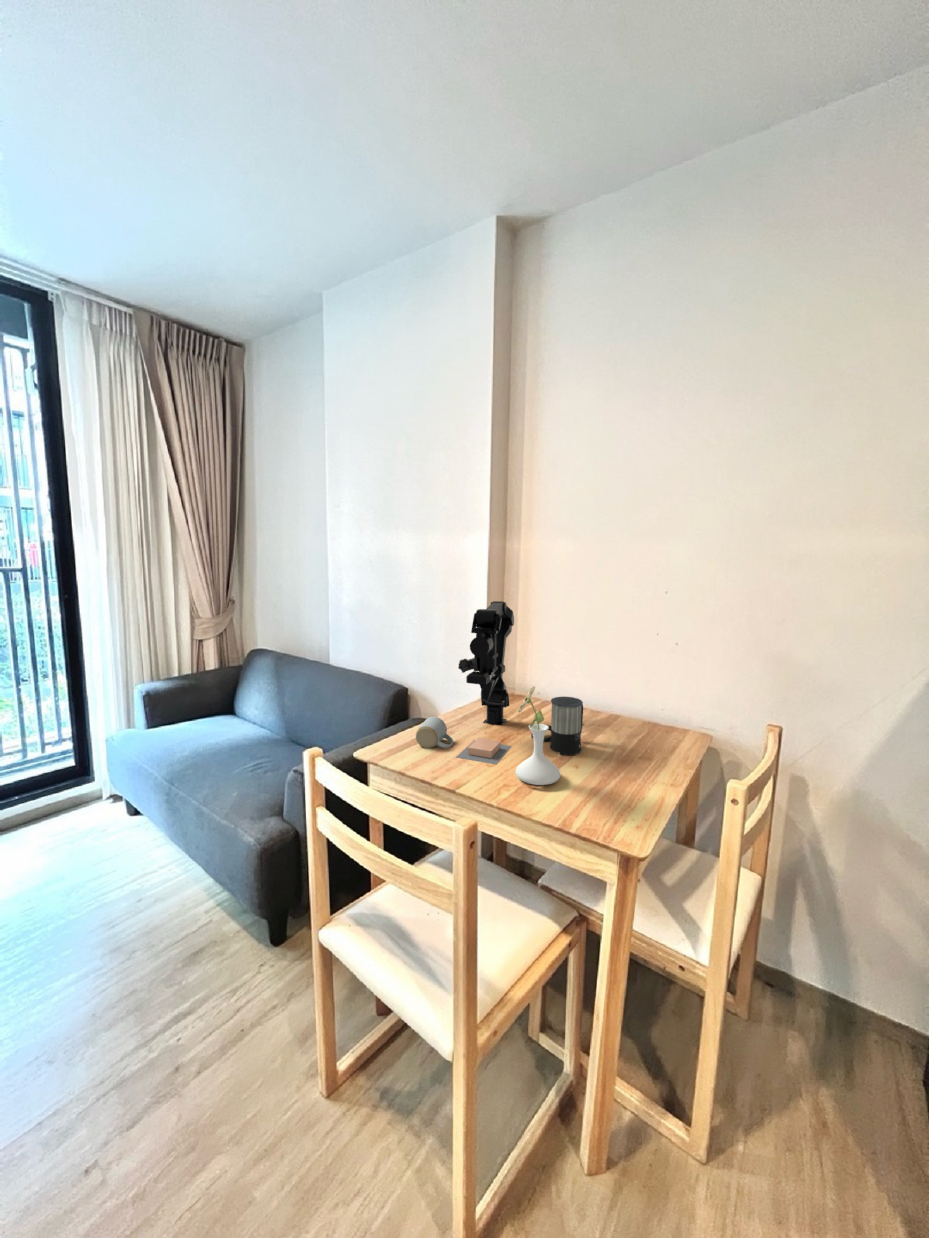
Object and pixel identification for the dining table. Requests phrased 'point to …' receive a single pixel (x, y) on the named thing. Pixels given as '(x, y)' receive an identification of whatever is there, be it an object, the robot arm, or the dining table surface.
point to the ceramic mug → (433, 733)
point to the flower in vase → (537, 753)
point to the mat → (493, 760)
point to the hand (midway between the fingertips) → (486, 699)
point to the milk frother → (566, 725)
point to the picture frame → (484, 747)
